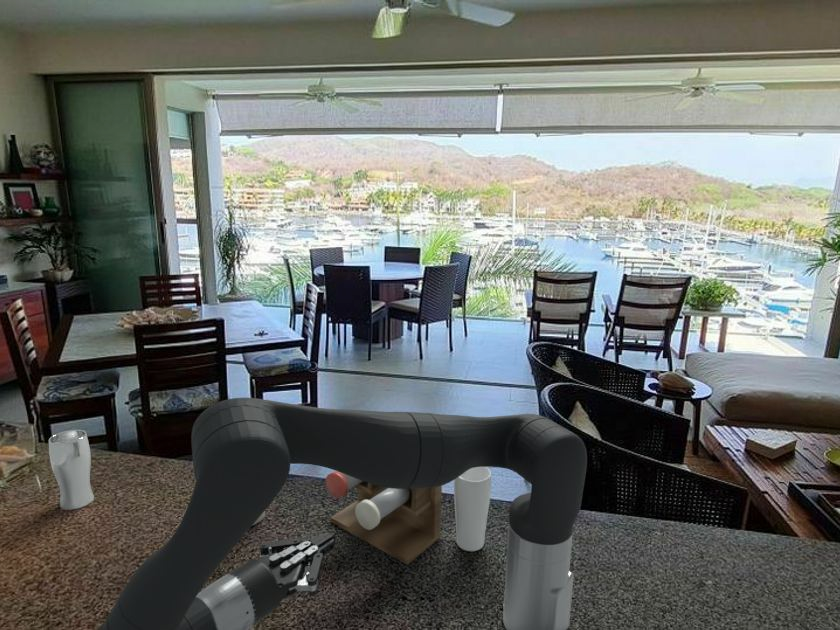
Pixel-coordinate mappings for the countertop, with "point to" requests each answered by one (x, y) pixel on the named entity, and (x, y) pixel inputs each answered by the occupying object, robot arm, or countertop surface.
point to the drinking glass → (472, 507)
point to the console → (398, 522)
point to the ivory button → (380, 506)
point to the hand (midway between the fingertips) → (331, 538)
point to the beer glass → (72, 468)
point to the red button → (340, 483)
